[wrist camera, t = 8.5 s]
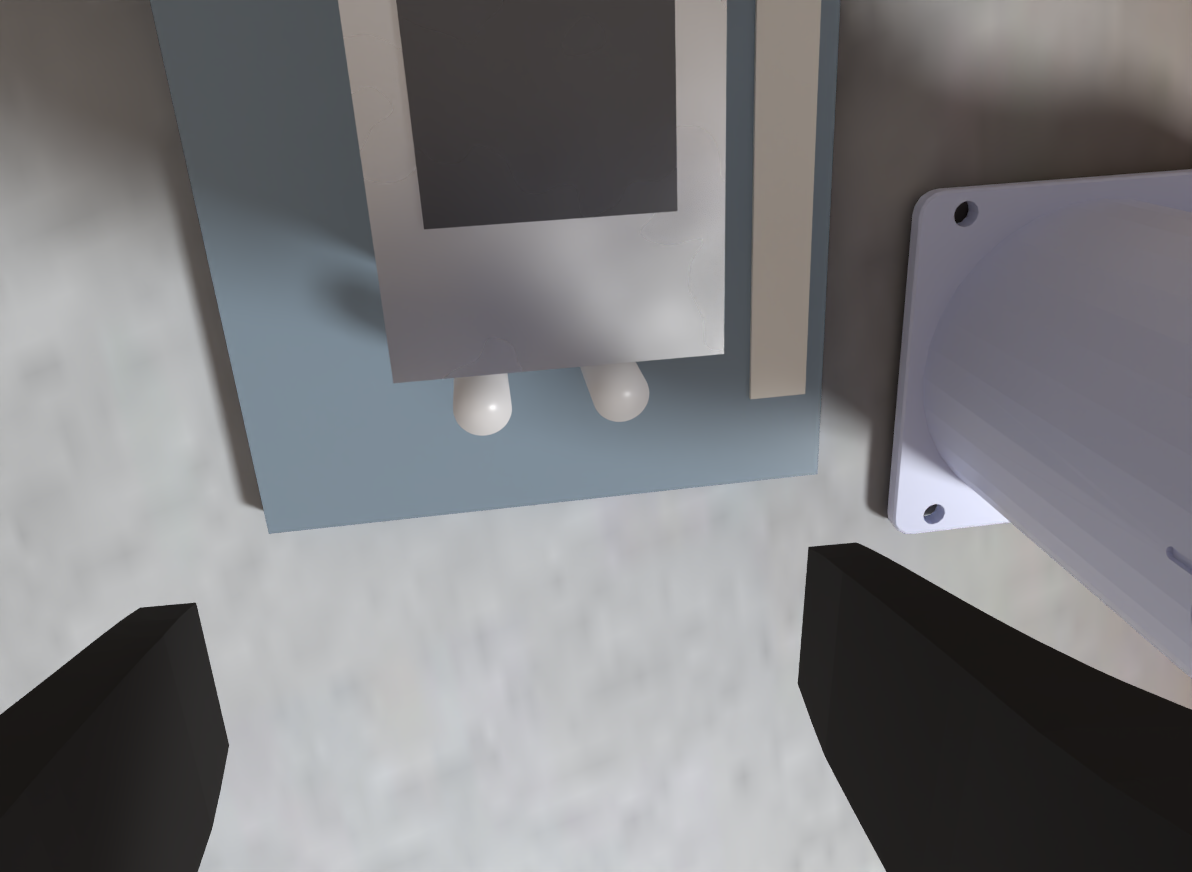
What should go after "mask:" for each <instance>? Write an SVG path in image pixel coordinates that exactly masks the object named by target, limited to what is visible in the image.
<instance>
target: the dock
mask: <svg viewBox="0 0 1192 872" xmlns="http://www.w3.org/2000/svg"><path fill="white" fill-rule="evenodd" d="M150 4H151V8H152V13H153V17H154V22H155V26H156V31H157V35H158V40H159V44H160V49H161V53H162V58H163V62H164V67H165V71H166V75H167V80H168V84H169V89H170V93H171V98H172V102H173V107H174V111H175V116H176V120H177V125H178V129H179V134H180V138H181V143H182V147H183V152H184V156H185V161H186V165H187V169H188V174H189V178H190V183H191V187H192V192H193V196H194V201H195V205H196V210H197V214H198V219H199V223H200V228H201V232H202V237H203V241H204V246H205V250H206V254H207V259H208V263H209V268H210V272H211V277H212V281H213V286H214V290H215V295H216V299H217V304H218V308H219V313H220V317H221V322H222V326H223V331H224V335H225V340H226V344H227V348H228V353H229V357H230V362H231V366H232V371H233V375H234V380H235V384H236V389H237V393H238V398H239V402H240V407H241V411H242V416H243V420H244V425H245V429H246V433H247V438H248V442H249V447H250V451H251V456H252V460H253V465H254V469H255V474H256V478H257V483H258V487H259V492H260V496H261V501H262V505H263V510H264V514H265V519H266V523H267V527H268V532H269V534H271V533H280V532H289V531H299V530H308V529H317V528H326V527H335V526H345V525H354V524H363V523H372V522H381V521H390V520H400V519H409V518H418V517H427V516H436V515H446V514H455V513H464V512H473V511H482V510H491V509H501V508H510V507H519V506H528V505H537V504H547V503H556V502H565V501H574V500H583V499H592V498H602V497H611V496H620V495H629V494H638V493H648V492H657V491H666V490H675V489H684V488H693V487H703V486H712V485H721V484H730V483H739V482H749V481H758V480H767V479H776V478H785V477H794V476H804V475H813V474H818V453H819V432H820V412H821V391H822V371H823V350H824V329H825V309H826V288H827V267H828V247H829V226H830V206H831V185H832V164H833V144H834V123H835V103H836V82H837V61H838V41H839V20H840V0H727V50H726V173H725V296H724V354H717V355H706V356H695V357H684V358H672V359H661V360H650V361H639V362H628V363H616V364H605V365H594V366H583V367H572V368H560V369H549V370H538V371H527V372H516V373H504V374H493V375H482V376H471V377H460V378H448V379H437V380H426V381H415V382H404V383H393V377H392V370H391V364H390V357H389V350H388V343H387V336H386V329H385V322H384V315H383V308H382V301H381V295H380V288H379V281H378V274H377V267H376V260H375V253H374V246H373V239H372V232H371V225H370V219H369V212H368V205H367V198H366V191H365V184H364V177H363V170H362V163H361V156H360V149H359V143H358V136H357V129H356V122H355V115H354V108H353V101H352V94H351V87H350V80H349V74H348V67H347V60H346V53H345V46H344V39H343V32H342V25H341V18H340V11H339V4H338V0H150Z"/></svg>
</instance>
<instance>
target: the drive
mask: <svg viewBox="0 0 1192 872" xmlns="http://www.w3.org/2000/svg"><path fill="white" fill-rule="evenodd" d="M338 4H339V11H340V18H341V25H342V32H343V39H344V46H345V53H346V60H347V67H348V74H349V80H350V87H351V94H352V101H353V108H354V115H355V122H356V129H357V136H358V143H359V149H360V156H361V163H362V170H363V177H364V184H365V191H366V198H367V205H368V212H369V219H370V225H371V232H372V239H373V246H374V253H375V260H376V267H377V274H378V281H379V288H380V295H381V301H382V308H383V315H384V322H385V329H386V336H387V343H388V350H389V357H390V364H391V370H392V377H393V383H404V382H415V381H426V380H437V379H448V378H460V377H471V376H482V375H493V374H504V373H516V372H527V371H538V370H549V369H560V368H572V367H583V366H594V365H605V364H616V363H628V362H639V361H650V360H661V359H672V358H684V357H695V356H706V355H717V354H724V296H725V173H726V50H727V0H338Z"/></svg>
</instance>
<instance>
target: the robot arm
mask: <svg viewBox="0 0 1192 872" xmlns="http://www.w3.org/2000/svg"><path fill="white" fill-rule="evenodd" d="M963 202H967V203H968V207H969V211H968V214H967V217H966V218H965V219H964V220H963V221H962V222H959V223H956V222H955V219H954V213H955V210H956V208H957V207H958V206H959V205H960V204H961V203H963ZM934 504H937V507H936V509H935V511H934V512H933V513H932V514H930V515H928V516H923V515H924V512H925V510H926V509H927V508H928V507H929V506H931V505H934ZM887 513H888V519H889V520H890V522H891V523H892V525H893V526H894V527H895V528H896V529H897V530H898V531H900V532H902V533H904V534H915V533H924V532H933V531H941V530H950V529H958V528H967V527H975V526H984V525H992V524H1001V523H1009V522H1011V523H1012V524H1013V525H1014V526H1015V527H1017V528H1018V529H1019V530H1020V531H1021V532H1022V533H1024V534H1025V535H1026V536H1027V537H1028V538H1029V539H1031V540H1032V541H1033V542H1034V543H1035V544H1036V545H1037V546H1039V547H1040V548H1041V549H1042V550H1043V551H1044V552H1046V553H1047V554H1048V555H1049V556H1050V557H1051V558H1053V559H1054V560H1055V561H1056V562H1057V563H1058V564H1059V565H1061V566H1062V567H1063V568H1064V569H1065V570H1066V571H1068V572H1069V573H1070V574H1071V575H1072V576H1073V577H1075V578H1076V579H1077V580H1078V581H1079V582H1080V583H1081V584H1083V585H1084V586H1085V587H1086V588H1087V589H1088V590H1090V591H1091V592H1092V593H1093V594H1094V595H1095V596H1097V597H1098V598H1099V599H1100V600H1101V601H1102V602H1103V603H1105V604H1106V605H1107V606H1108V607H1109V608H1110V609H1112V610H1113V611H1114V612H1115V613H1116V614H1117V615H1119V616H1120V617H1121V618H1122V619H1123V620H1124V621H1125V622H1127V623H1128V624H1129V625H1130V626H1131V627H1132V628H1134V629H1135V630H1136V631H1137V632H1138V633H1139V634H1141V635H1142V636H1143V637H1144V638H1145V639H1146V640H1147V641H1149V642H1150V643H1151V644H1152V645H1153V646H1154V647H1156V648H1157V649H1158V650H1159V651H1160V652H1161V653H1163V654H1164V655H1165V656H1166V657H1167V658H1168V659H1169V660H1171V661H1172V662H1173V663H1174V664H1175V665H1176V666H1178V667H1179V668H1180V669H1181V670H1182V671H1183V672H1185V673H1186V674H1187V675H1188V676H1189V677H1190V678H1191V679H1192V169H1186V170H1173V171H1160V172H1147V173H1134V174H1121V175H1108V176H1095V177H1082V178H1069V179H1056V180H1043V181H1030V182H1017V183H1004V184H991V185H978V186H965V187H952V188H939V189H934V190H931V191H928V192H927V193H925V194H924V195H923V196H921V197H920V199H919V200H918V202H917V203H916V205H915V207H914V211H913V214H912V225H911V237H910V249H909V261H908V272H907V284H906V296H905V308H904V320H903V332H902V344H901V356H900V368H899V380H898V392H897V404H896V416H895V427H894V439H893V451H892V463H891V475H890V487H889V499H888V511H887ZM798 685H799V688H800V691H801V694H802V697H803V699H804V702H805V705H806V708H807V711H808V713H809V716H810V719H811V722H812V724H813V727H814V730H815V732H816V735H817V737H818V740H819V742H820V745H821V747H822V750H823V753H824V755H825V757H826V759H827V761H828V763H829V765H830V767H831V769H832V771H833V773H834V775H835V777H836V779H837V780H838V782H839V784H840V786H841V788H842V790H843V792H844V794H845V796H846V797H847V799H848V801H849V803H850V805H851V807H852V809H853V811H854V813H855V814H856V816H857V818H858V820H859V822H860V824H861V826H862V827H863V829H864V831H865V833H866V835H867V837H868V838H869V840H870V842H871V844H872V846H873V848H874V850H875V851H876V853H877V855H878V857H879V859H880V861H881V863H882V864H883V866H884V868H885V870H886V872H1192V710H1191V709H1188V708H1186V707H1183V706H1181V705H1179V704H1176V703H1174V702H1171V701H1169V700H1167V699H1164V698H1162V697H1159V696H1157V695H1154V694H1152V693H1150V692H1147V691H1145V690H1142V689H1140V688H1138V687H1135V686H1133V685H1130V684H1128V683H1125V682H1123V681H1121V680H1119V679H1116V678H1114V677H1112V676H1110V675H1108V674H1105V673H1103V672H1101V671H1099V670H1096V669H1094V668H1092V667H1090V666H1088V665H1086V664H1084V663H1082V662H1080V661H1078V660H1076V659H1074V658H1072V657H1070V656H1068V655H1066V654H1064V653H1061V652H1059V651H1057V650H1055V649H1053V648H1051V647H1049V646H1047V645H1045V644H1043V643H1041V642H1039V641H1037V640H1035V639H1033V638H1031V637H1029V636H1027V635H1026V634H1024V633H1022V632H1020V631H1018V630H1016V629H1014V628H1012V627H1010V626H1008V625H1007V624H1005V623H1003V622H1001V621H999V620H997V619H995V618H994V617H992V616H990V615H988V614H986V613H984V612H983V611H981V610H979V609H977V608H975V607H974V606H972V605H970V604H968V603H966V602H965V601H963V600H961V599H959V598H958V597H956V596H954V595H952V594H951V593H949V592H947V591H945V590H943V589H942V588H940V587H938V586H936V585H935V584H933V583H931V582H929V581H928V580H926V579H924V578H922V577H921V576H919V575H917V574H915V573H914V572H912V571H910V570H908V569H907V568H905V567H903V566H901V565H899V564H898V563H896V562H894V561H892V560H890V559H889V558H887V557H885V556H883V555H881V554H879V553H877V552H875V551H873V550H871V549H869V548H867V547H865V546H863V545H861V544H859V543H847V544H836V545H825V546H814V547H809V548H808V561H807V574H806V586H805V599H804V612H803V624H802V637H801V650H800V662H799V675H798ZM228 748H229V743H228V739H227V735H226V730H225V726H224V722H223V717H222V713H221V709H220V704H219V700H218V696H217V691H216V687H215V683H214V678H213V674H212V670H211V665H210V661H209V657H208V652H207V648H206V644H205V639H204V635H203V631H202V627H201V622H200V618H199V614H198V609H197V605H196V603H187V604H176V605H165V606H154V607H143V608H139V609H137V610H136V611H134V612H133V613H131V614H130V615H128V616H127V617H126V618H124V619H123V620H121V621H120V622H119V623H117V624H116V625H115V626H113V627H112V628H111V629H109V630H108V631H107V632H105V633H104V634H103V635H102V636H100V637H99V638H98V639H96V640H95V641H94V642H93V643H91V644H90V645H89V646H87V647H86V648H85V649H84V650H82V651H81V652H80V653H79V654H77V655H76V656H75V657H74V658H72V659H71V660H70V661H68V662H67V663H66V664H65V665H63V666H62V667H61V668H60V669H58V670H57V671H56V672H55V673H53V674H52V675H51V676H49V677H48V678H47V679H46V680H44V681H43V682H42V683H40V684H39V685H38V686H37V687H35V688H34V689H33V690H32V691H30V692H29V693H28V694H26V695H25V696H24V697H23V698H21V699H20V700H19V701H17V702H16V703H15V704H14V705H12V706H11V707H10V708H8V709H7V710H6V711H5V712H3V713H2V714H1V715H0V872H198V869H199V866H200V863H201V860H202V857H203V854H204V851H205V848H206V845H207V842H208V839H209V836H210V833H211V830H212V827H213V822H214V817H215V813H216V808H217V804H218V799H219V795H220V790H221V785H222V779H223V774H224V769H225V764H226V758H227V753H228Z"/></svg>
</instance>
